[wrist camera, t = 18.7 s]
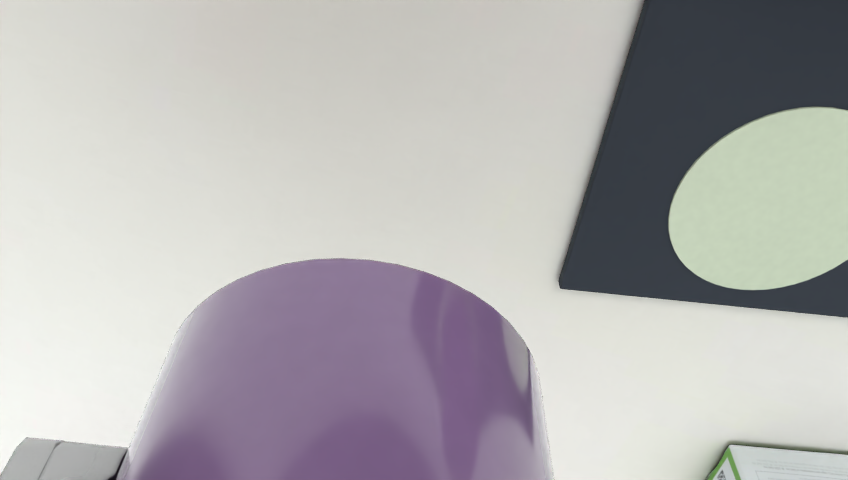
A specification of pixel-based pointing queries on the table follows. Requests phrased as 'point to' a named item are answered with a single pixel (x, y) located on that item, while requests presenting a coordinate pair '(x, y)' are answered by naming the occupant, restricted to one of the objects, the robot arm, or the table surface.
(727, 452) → the ink box
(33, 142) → the table surface
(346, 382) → the dish
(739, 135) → the mat
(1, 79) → the table surface
